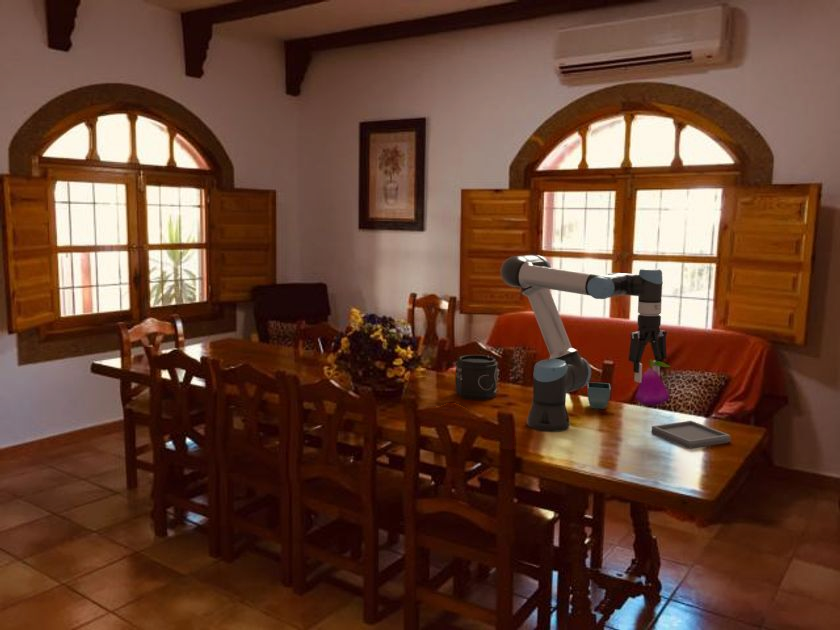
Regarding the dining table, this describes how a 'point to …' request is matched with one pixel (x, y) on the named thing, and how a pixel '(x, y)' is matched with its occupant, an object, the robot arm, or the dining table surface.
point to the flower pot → (598, 394)
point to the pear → (652, 387)
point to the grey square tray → (691, 434)
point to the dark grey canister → (476, 377)
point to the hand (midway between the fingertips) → (646, 380)
